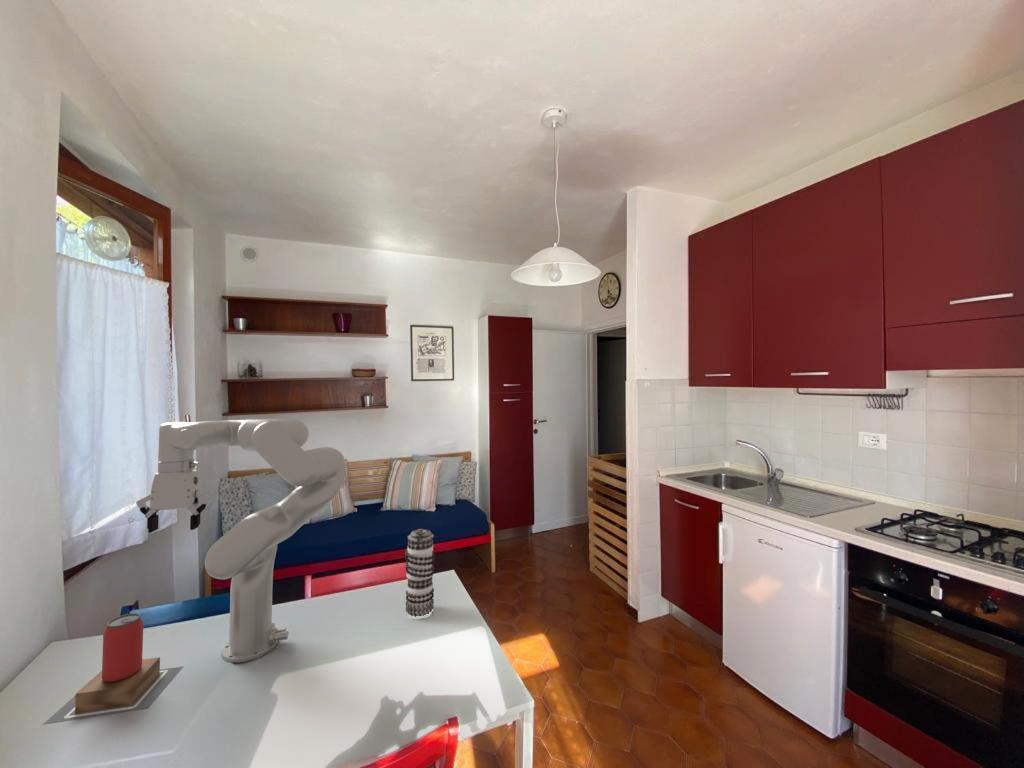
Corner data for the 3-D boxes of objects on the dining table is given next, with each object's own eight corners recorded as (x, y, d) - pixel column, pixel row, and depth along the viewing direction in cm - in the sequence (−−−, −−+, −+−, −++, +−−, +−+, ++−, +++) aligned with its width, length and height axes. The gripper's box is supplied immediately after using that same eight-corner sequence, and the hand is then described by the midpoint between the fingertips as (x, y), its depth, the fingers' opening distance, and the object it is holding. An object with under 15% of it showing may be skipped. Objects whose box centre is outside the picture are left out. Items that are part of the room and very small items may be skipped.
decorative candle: (406, 606, 131) (407, 527, 132) (435, 604, 132) (436, 526, 133) (402, 621, 122) (403, 536, 123) (433, 619, 123) (434, 535, 124)
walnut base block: (159, 674, 98) (160, 657, 98) (131, 704, 88) (132, 685, 88) (109, 681, 96) (109, 663, 96) (74, 713, 86) (75, 693, 86)
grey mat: (183, 668, 101) (183, 666, 101) (147, 710, 87) (147, 708, 87) (94, 679, 96) (94, 677, 97) (42, 726, 83) (42, 723, 83)
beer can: (115, 686, 88) (117, 629, 89) (93, 681, 90) (95, 625, 90) (149, 666, 95) (151, 613, 95) (128, 662, 96) (129, 610, 97)
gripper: (218, 463, 118) (216, 523, 118) (147, 465, 114) (145, 527, 114) (205, 468, 111) (203, 531, 111) (129, 470, 107) (127, 536, 106)
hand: (174, 529), depth 112 cm, fingers open, 9 cm apart
